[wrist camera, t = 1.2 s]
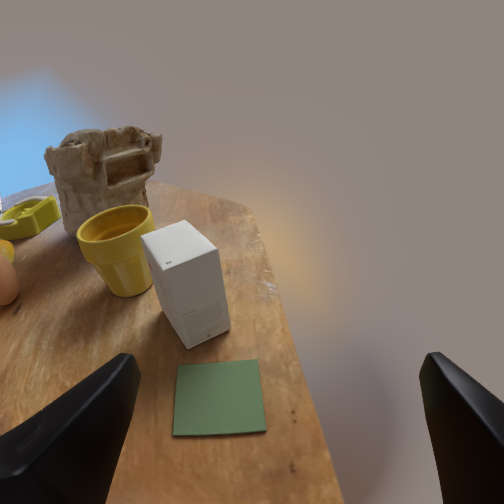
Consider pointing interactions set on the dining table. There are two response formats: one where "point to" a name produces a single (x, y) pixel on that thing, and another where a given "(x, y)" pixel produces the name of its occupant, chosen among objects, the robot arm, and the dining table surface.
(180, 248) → the small box
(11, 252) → the seashell
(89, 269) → the dining table surface
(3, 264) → the egg
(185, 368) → the mat
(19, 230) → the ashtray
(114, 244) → the flower pot
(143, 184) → the ceramic vessel
